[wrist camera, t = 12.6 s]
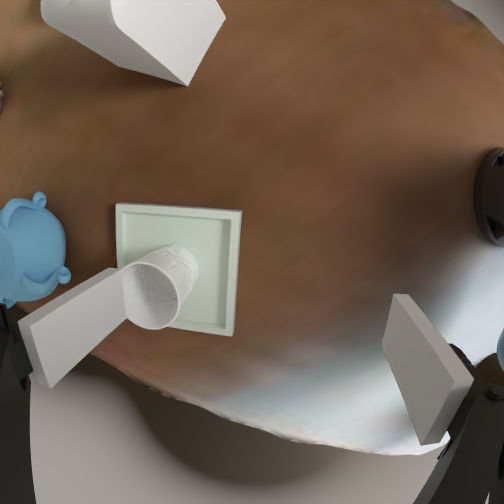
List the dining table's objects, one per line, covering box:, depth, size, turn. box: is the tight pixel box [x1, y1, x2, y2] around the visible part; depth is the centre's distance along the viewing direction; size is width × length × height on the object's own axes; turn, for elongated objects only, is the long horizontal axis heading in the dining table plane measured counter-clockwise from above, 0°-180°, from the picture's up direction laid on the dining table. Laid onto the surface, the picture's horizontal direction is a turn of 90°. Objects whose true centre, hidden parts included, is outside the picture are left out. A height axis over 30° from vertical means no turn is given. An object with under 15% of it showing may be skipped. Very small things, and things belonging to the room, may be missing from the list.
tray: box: [116, 203, 242, 336], centre depth 40 cm, size 17×17×2 cm
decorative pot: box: [0, 192, 71, 309], centre depth 36 cm, size 16×16×14 cm
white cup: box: [121, 244, 198, 330], centre depth 35 cm, size 8×8×10 cm
